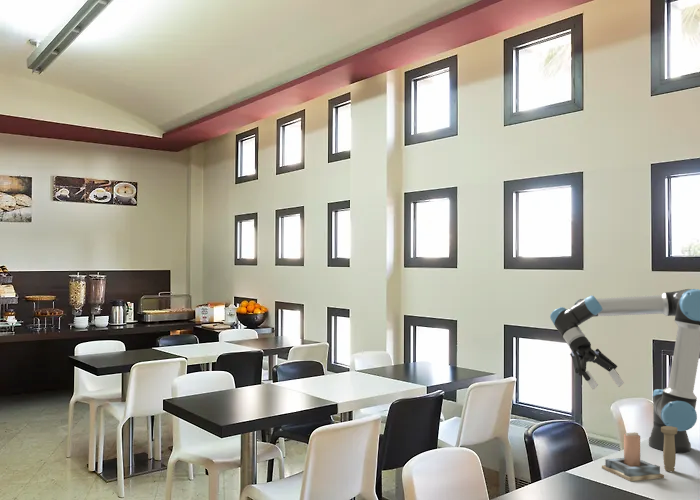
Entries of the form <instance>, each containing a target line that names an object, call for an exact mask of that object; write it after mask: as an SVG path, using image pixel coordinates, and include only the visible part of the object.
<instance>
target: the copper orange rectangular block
mask: <svg viewBox="0 0 700 500" xmlns="http://www.w3.org/2000/svg"><path fill="white" fill-rule="evenodd" d="M623 458H624V464H625V465H628V466H630V467H635V466H640V460H641V435H639V432H637V431H635V432H625V433H624V434H623Z"/></svg>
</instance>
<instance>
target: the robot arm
mask: <svg viewBox="0 0 700 500" xmlns="http://www.w3.org/2000/svg"><path fill="white" fill-rule="evenodd" d="M661 314H662V315H664V316H665V317H673V316H674V323H675V324H676V325H677V331H676V338H675V343H674V350H673V356H672V362H671V367H670V368H671V369H670V374H669V380H668V385H667V387H665V388H663V389H658V388H657V389H654V390H653V393H652V394H653V395H652V400H653V402H652V403H653V404H652V405H653V406H652V407H653V408H652V414H653V417H652V418H653V419H652V420H653V421H652V422H653V423H652V424H653V426H652V428H651V433H650V436H649V438H648V446H649V447H651V448H653V449H656V450H660V451H663V448H664V433H662V432H661V427H663V426H672V427H676V428H677V429H678V431H677V434H675V435H674V439H675V453H687V452H690V451H691V450H692V446H691V442H690V440H689V436H688V432H687V431H688V430H691V429H692V428H693V427H694V426H695V425H696V423H697V420H698V415H697V410H696V405H697V402H698V401H697V399H698V398H697V396H696V394H695V393H694V389H695V384H696V379H697V377H696V376H697V373H698V371H697V370H698V365H699V359H700V289H699V288H687V289H681V290H680V289H679V290H675V291H669V292H668V291H666V292H662V293H661V294H659V295H658V294H657V295H656V294H655V295H641V296H640V295H639V296H638V295H637V296H622V297H621V296H620V297H605V298H602V297H601V298H596V297H595V296H594V295H589V296H588V297H587V296H586V297H585V298H580V299H578V300H576V301H575V303H574V304H573V306H571V307H570V308H568V309H567V308H565V307H564V306H562V307H561V306H560V307H558V308H556V309H554V310H553V311H551V313H550V316H549V317H550V320H551V322H552V323H553V326H554V327H555V328H556V330H557V331H558V333H559V335H561V337H562V338H563V340H565V342H566V344H567V345H568V346H569V349H570V350H571V352H570V354H569V355H570V357H571V359H572V364H573V367H574V373H575V374H578V376H580V377H581V376H583V379H584V380H585V381H586V382H587V383H588V385H589V386H590V388H591V389H592V390H595V389H596V388H597V387H598V385H599V384H598V382H597V380H595V378H594V376H592V374H591V373H590V370H587V364H588V362H589V363H594V364H597V365H598V366H600V367H601V368H603V369H604V370H606V371H607V372H608V375H609V376H610V377H611V379H612V381H614V383H615V384H616V386H617V387H618V388H620V387H621V386H622V385H624V384H625V382H624V380H623V379H622V378H621V376H620V375H619V373H618V372H617V370H616V369H617V368H618V365H617V364H616V363H614V362H613V361H612V360H611V359H610V358H608V357H607V356H606V355H605V354H604V353H602V351H601V350H600V349H599V348H596V349H595V350H594V349H593V348H592V347H591V346H592V343H591V342H590V340H589V339H588V338H587V337H586V334H584V331H582V329H581V328H580V327H579V325H582V324H583V323H584V322H586V321H588V320H589V319H591V318H596V317H612V316H614V317H615V316H616V317H617V316H638V315H639V316H640V315H641V316H642V315H661Z"/></svg>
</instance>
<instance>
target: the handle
mask: <svg viewBox="0 0 700 500" xmlns="http://www.w3.org/2000/svg"><path fill="white" fill-rule="evenodd" d="M677 431H678V429H677V428H676V427H672V426H663V427H661V432H662V433H664V448H663V450H662V451H663V452H662V455H663V456H662V459H663V467H664V470H665V472H669V473H671V472H673V473H674V472H675V470H676V468H675V467H676V457H677V456H676V453H677V452H675V439H674V435H675V434H677Z"/></svg>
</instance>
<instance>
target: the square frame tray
mask: <svg viewBox="0 0 700 500" xmlns="http://www.w3.org/2000/svg"><path fill="white" fill-rule="evenodd" d="M604 464H605V465H601V469H603V470H604V471H607V472H610V473H611V474H613V475H616V476H617V477H620V478H622V479H624V480H627V481H629V482H638V481H644V480H645V481H646V480H647V481H648V480H657V479H664V478H665V474H663V473H661V465H660V466H659V465H657V464H652V463H649V462H647V461H645V460H642V459H640V466H635V467H630V466H628V465H625V464H624V457H618V458H616V457H615V458H606V459H605V463H604Z"/></svg>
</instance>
